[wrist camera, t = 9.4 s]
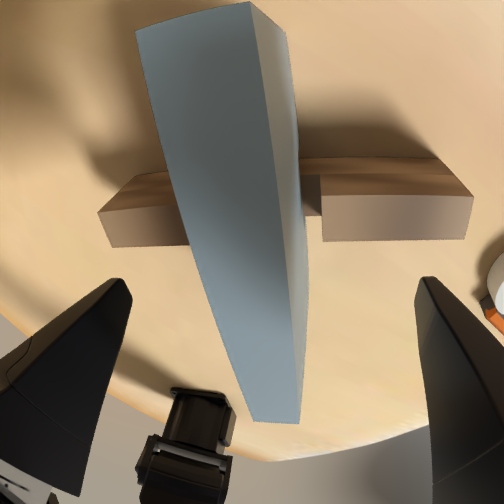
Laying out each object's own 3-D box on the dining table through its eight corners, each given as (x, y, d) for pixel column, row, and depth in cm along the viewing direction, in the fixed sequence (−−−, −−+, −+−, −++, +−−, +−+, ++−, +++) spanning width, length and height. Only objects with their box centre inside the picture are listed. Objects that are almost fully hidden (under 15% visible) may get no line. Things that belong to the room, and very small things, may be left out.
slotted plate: (309, 283, 19) (299, 424, 12) (276, 284, 19) (253, 421, 12) (285, 32, 11) (250, 1, 4) (239, 38, 11) (134, 31, 4)
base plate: (145, 206, 17) (112, 247, 14) (135, 175, 16) (97, 212, 13) (435, 195, 14) (464, 239, 11) (439, 159, 13) (473, 196, 9)
